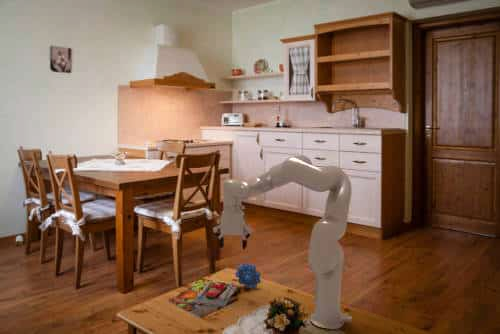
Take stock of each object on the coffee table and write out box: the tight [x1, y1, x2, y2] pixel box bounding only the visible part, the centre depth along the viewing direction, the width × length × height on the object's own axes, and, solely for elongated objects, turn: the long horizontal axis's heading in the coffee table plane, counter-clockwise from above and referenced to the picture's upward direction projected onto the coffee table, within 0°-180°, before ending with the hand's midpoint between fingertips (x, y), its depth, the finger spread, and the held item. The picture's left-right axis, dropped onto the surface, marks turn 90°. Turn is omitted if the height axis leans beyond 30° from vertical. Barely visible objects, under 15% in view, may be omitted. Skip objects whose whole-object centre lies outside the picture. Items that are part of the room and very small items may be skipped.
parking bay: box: [192, 280, 238, 308], centre depth 189 cm, size 14×21×2 cm, turn 168°
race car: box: [206, 281, 227, 298], centre depth 189 cm, size 13×5×4 cm, turn 157°
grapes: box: [235, 262, 262, 289], centre depth 196 cm, size 12×7×12 cm, turn 84°
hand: (233, 248), depth 185 cm, fingers open, 9 cm apart
